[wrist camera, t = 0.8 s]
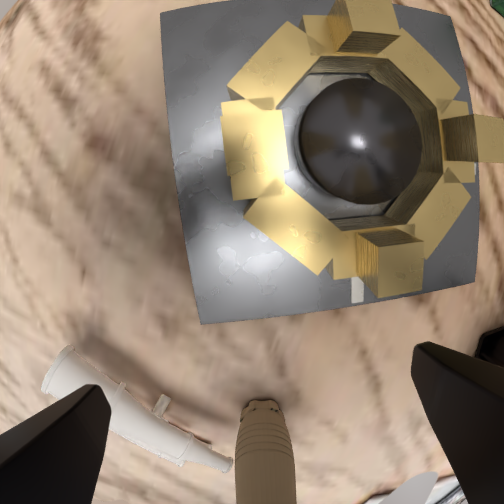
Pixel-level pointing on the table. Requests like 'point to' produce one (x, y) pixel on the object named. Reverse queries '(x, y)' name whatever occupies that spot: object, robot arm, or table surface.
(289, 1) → the cap plate
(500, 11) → the coffee box
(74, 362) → the white tapered multi-tube piece
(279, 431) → the handle
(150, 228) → the table surface
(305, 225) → the octagonal socket base
